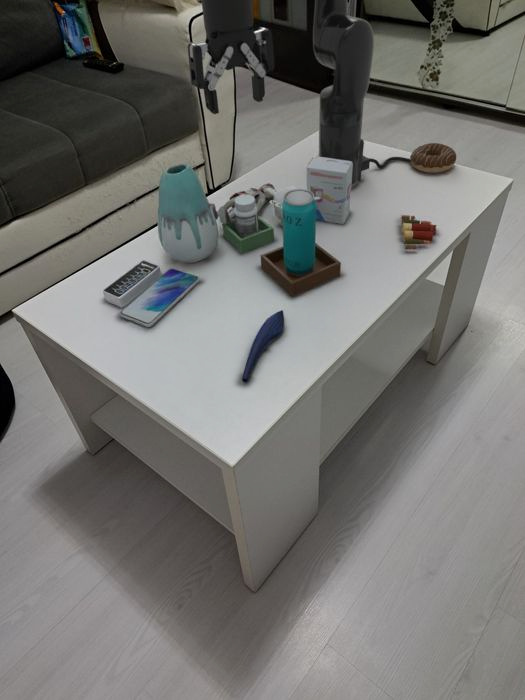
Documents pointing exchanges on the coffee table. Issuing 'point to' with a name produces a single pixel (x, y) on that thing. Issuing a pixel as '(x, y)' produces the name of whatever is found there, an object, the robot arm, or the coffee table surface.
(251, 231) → the pill bottle
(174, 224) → the vase
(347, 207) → the ink box
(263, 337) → the tapered navy handle
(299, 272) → the beverage can
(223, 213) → the figurine
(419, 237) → the ammunition
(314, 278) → the can tray
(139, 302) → the smartphone
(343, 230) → the coffee table surface
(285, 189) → the figurine
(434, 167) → the donut
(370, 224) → the coffee table surface
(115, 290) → the multiport hub
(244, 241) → the pill tray
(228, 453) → the coffee table surface
